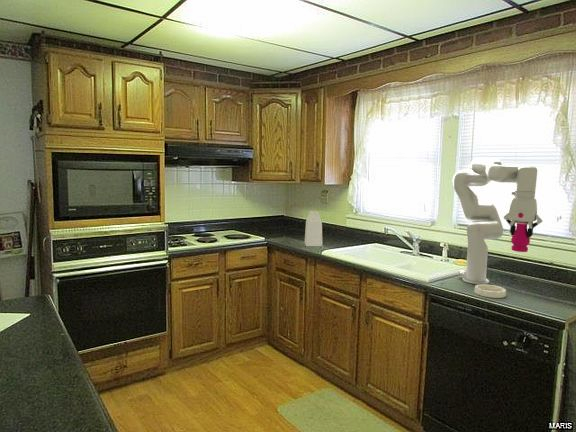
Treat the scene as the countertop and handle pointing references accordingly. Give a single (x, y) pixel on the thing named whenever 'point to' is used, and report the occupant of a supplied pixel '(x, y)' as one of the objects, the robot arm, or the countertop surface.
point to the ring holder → (490, 291)
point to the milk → (313, 229)
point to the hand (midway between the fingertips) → (520, 235)
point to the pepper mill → (520, 236)
